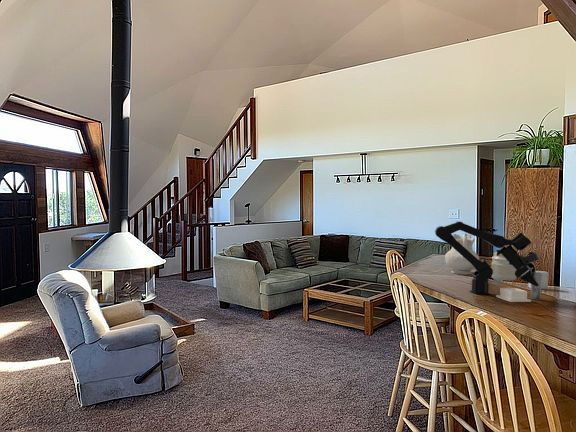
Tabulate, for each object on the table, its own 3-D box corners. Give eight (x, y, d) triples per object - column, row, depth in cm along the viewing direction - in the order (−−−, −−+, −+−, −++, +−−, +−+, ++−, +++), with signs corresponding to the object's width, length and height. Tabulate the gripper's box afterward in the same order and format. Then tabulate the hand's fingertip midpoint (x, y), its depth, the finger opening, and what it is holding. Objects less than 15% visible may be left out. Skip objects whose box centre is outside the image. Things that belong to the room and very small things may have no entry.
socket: (510, 301, 190) (510, 291, 190) (495, 296, 200) (496, 287, 200) (531, 301, 192) (531, 291, 192) (515, 296, 202) (516, 287, 201)
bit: (534, 300, 195) (535, 273, 195) (528, 298, 199) (529, 271, 199) (542, 300, 196) (544, 273, 195) (536, 298, 200) (537, 271, 199)
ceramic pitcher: (484, 278, 258) (489, 236, 257) (450, 275, 258) (455, 232, 257) (469, 273, 279) (474, 234, 278) (438, 269, 279) (443, 230, 279)
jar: (518, 281, 245) (520, 249, 245) (493, 279, 248) (495, 248, 247) (511, 277, 258) (513, 247, 258) (488, 276, 261) (489, 246, 260)
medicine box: (543, 288, 227) (544, 271, 227) (548, 289, 223) (549, 272, 223) (527, 287, 228) (528, 270, 228) (531, 288, 224) (532, 271, 223)
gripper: (524, 247, 192) (552, 275, 186) (531, 244, 207) (557, 271, 200) (503, 263, 197) (530, 291, 190) (511, 259, 212) (536, 285, 205)
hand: (539, 284), depth 197 cm, fingers open, 9 cm apart
